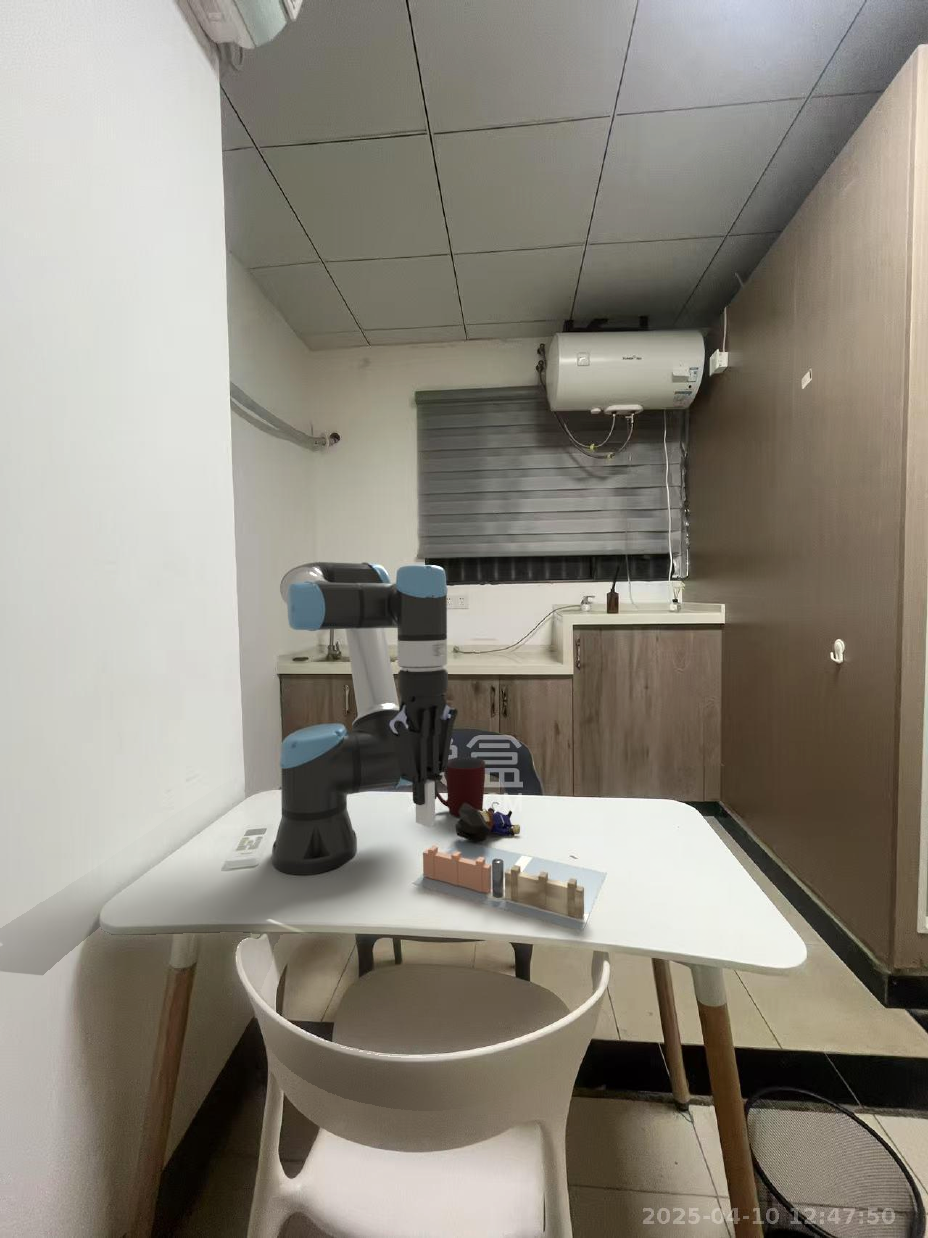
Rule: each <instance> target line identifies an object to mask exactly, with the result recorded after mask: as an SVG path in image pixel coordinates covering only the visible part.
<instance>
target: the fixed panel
mask: <svg viewBox="0 0 928 1238" xmlns="http://www.w3.org/2000/svg"><path fill="white" fill-rule="evenodd" d="M505 898H507V899H511V900H512V901H516V902H522V903H526V904H529V905H533V906H537V907H539V908H542V909H548V910H552V911H555V912H559V913H563V914H567V915H568V916H572V917H578V918H581V919H582V918H583V916H584V887H581V886H577V879H573V878H570V879H569V881H568V883H565V882H561V881H557V880H552V879H548V873H547V872H543V871H541V873H540V874H539V876H536V875H532V874H527V873H523V872H521V869H520V866H517V865H514V866H513V867H512V869H507V870H506V871H505Z"/></svg>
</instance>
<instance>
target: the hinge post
mask: <svg viewBox="0 0 928 1238" xmlns="http://www.w3.org/2000/svg"><path fill="white" fill-rule="evenodd" d="M492 895H493V897H495V898H501V897H503V896H504V862H503V860H501V859H494V860H492Z"/></svg>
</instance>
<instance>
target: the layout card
mask: <svg viewBox="0 0 928 1238" xmlns="http://www.w3.org/2000/svg"><path fill="white" fill-rule="evenodd" d="M455 851H458V852H461V858H465V859H469V860H473V861H476V860H477V859H478V858H479V857H483V858H485V863H486V864H490V865H491V891H490V892H489V893H485V892H479V891H476V890H474V889H470V888H466V887H463V886H459V885H453V884H451V883H448V882H444V881H440V880H437V879H431V878H428V877H425V876H423V873H422V874H421V875H420V876H419V877H418V878H416V880H414V881H413V882H412V884H413V885H417V886H421V887H424V888H426V889H427V888H428V889H430V890H435V891H438V892H440V893H445V894H449V895H452V896H455V897H459V898H463V899H467V900H470V901H473V902H477V903H480V904H484V905H488V906H491V907H493V908H498V909H503V910H506V911H508V912H513V913H516V914H519V915H524V916H527V917H531V918H533V919H538V920H541V921H545V922H547V923H551V924H552V923H553V924H556V925H559V926H562V927H566V928H569V929H573V930H577V931H580V932H583V930H584V928H585V926H586V924H587V921H588V919H589V916H590V914H591V912H592V909H593V907H594V905H595V902H596V899H597V898H598V895H599V893H600V890H601V889H602V885H603V883H604V881H605V878H606V876H607V872H604V871H599V870H595V869H591V868H586V867H582V866H577V865H573V864H568V863H565V862H564V863H563V862H559V861H554V860H550V859H545V858H541V857H537V856H532V855H527V854H523V853H519V852H514V851H510V850H505V849H501V848H496V847H492V846H488V845H483V844H479V843H473V842H471V841H466V840H461V839H459V841H457V842H456V843H455V844H454V845H452V847H451V848H450V849H448V851H446V852H444V854H448V855H452V854H453V853H454V852H455ZM494 859H501V860H503V862H504V896H503V897H501V898H495V897H493V895H492V860H494ZM514 865H517V866H520V869H521V872H523V873H527V874H532V875H536V876H539V874H540V873H541V871H543V872H547V873H548V879H552V880H557V881H561V882H565V883H568V881H569V879H570V878H573V879H577V886H581V887H584V916H583V918H582V919H581V918H578V917H572V916H568V915H567V914H563V913H559V912H555V911H552V910H548V909H542V908H539V907H537V906H533V905H529V904H526V903H522V902H516V901H512V900H511V899H507V898H505V871H506V870H507V869H512V867H513V866H514Z"/></svg>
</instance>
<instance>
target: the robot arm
mask: <svg viewBox="0 0 928 1238" xmlns="http://www.w3.org/2000/svg"><path fill="white" fill-rule="evenodd" d="M395 579H396V580H395V583H393V582H391V579H390V577H389V573H388V572H387V570H386V569H385V568H384V567H383V565H381V564H378V563H369V562H361V563H355V562H354V563H353V562H352V563H351V562H332V561H329V562H328V561H317V562H316V561H315V562H308V563H305V564H302V565H298V566H296V567H293V568H291V569H290V570H288V571H287V572H286V573H285V574H284V575H283V577H282V579H281V581H280V585H279V588H280V589H279V591H280V594H281V598H282V600H283V601H284V602H285V604H286V605H287V619H288V625H289V627H290V628H291V629H293V630H296V631H309V632H315V631H321V630H322V631H323V630H327V631H328V630H345V635H346V642H347V648H348V649H347V650H348V656H349V663H350V670H351V671H350V672H351V677H352V683H353V690H354V697H355V704H356V709H357V717H356V718H355V719H354V721H352V723H351V724H352V725H351V729H352V730H347V728H346V726H345V725H344V724H343V723H335V722H334V723H322V724H321V723H320V724H316V725H311V726H308V727H304V728H301V729H298V730H296V731H294V732H292V733H290V734H288V735H287V736H286V737H285V738H284V739H283V741H282V743H281V746H280V761H279V768H280V772H281V773H280V774H281V775H280V778H281V779H280V781H281V782H280V785H281V786H280V787H281V788H280V789H281V792H280V793H281V794H280V796H281V798H280V799H281V804H280V805H281V818H280V822H279V825H278V828H277V833H276V836H275V837H276V838H275V841H274V842H273V845H272V848H271V862H272V865H273V867H274V868H275V869H276V870H278V871H280V872H283V873H285V874H290V875H300V876H301V875H302V876H303V875H313V874H314V875H315V874H319V873H324V872H329V871H331V870H335V869H336V868H337V869H338V868H339V867H341V866H344V865H345V864H347V863H348V862H350V861H351V860H352V859H353V858H354V856H355V855H356V854H357V853H358V852H357V851H358V839H357V833H356V831H355V830H354V829H353V825H352V821H351V818H350V815H349V811H348V806H347V804H348V800H347V799H348V798H347V797H348V795H352V794H353V795H354V794H358V793H365V792H371V791H379V790H380V791H381V790H385V789H392V788H394V789H397V788H399V787H402V786H408V785H412V803H413V804H415V823H416V824H418V825H422V826H424V827H426V828H429V827H431V826H433V825H434V826H435V825H436V800H437V799H438V797H437V790H438V781H441V780H442V779H443V775H441V774H442V773H445V772H446V770H447V765H448V760H449V758H450V750H451V744H452V738H453V737H452V736H453V729H454V723H455V722H456V718H457V716H458V709H457V708H453V707H450V706H449V705H447V700H446V697H445V695H446V694H447V693H448V691H449V675H448V674H449V671H448V670H447V669H446V668H444V667H445V666H447V665H448V617H447V616H448V615H447V614H448V609H447V608H448V606H447V605H448V601H447V600H448V599H447V595H448V587H447V577H446V571H445V569H444V568H443V567H441V566H438V565H432V564H428V565H427V564H421V565H420V564H419V565H418V564H417V565H416V564H413V565H412V564H411V565H404V566H400V567H399V568H398V569H397V571H396V578H395ZM385 629H396V630H397V666H398V667H399V668H401V669H399V670H398V672H397V682H398V683H397V685H398V686H397V688H398V689H397V688H396V684H395V679H394V672H393V667H392V662H391V658H390V653H389V652H390V651H389V647H388V642H387V637H386V636H387V635H386V632H385ZM397 691H398V693H397ZM398 694H399V695H400V698H401V701H400V703H399V698H398Z"/></svg>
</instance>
